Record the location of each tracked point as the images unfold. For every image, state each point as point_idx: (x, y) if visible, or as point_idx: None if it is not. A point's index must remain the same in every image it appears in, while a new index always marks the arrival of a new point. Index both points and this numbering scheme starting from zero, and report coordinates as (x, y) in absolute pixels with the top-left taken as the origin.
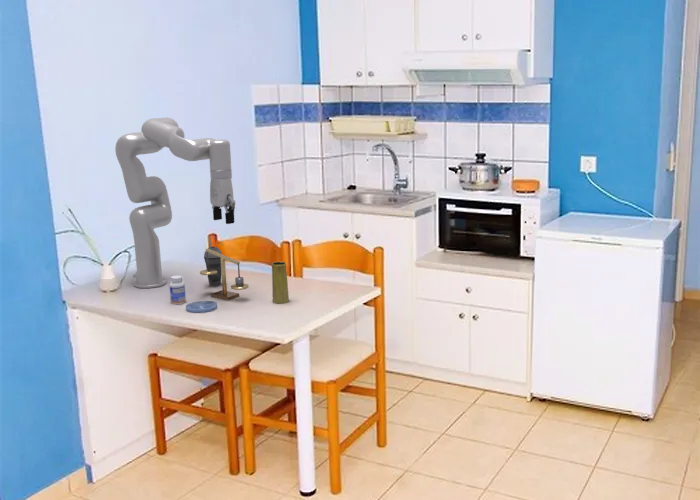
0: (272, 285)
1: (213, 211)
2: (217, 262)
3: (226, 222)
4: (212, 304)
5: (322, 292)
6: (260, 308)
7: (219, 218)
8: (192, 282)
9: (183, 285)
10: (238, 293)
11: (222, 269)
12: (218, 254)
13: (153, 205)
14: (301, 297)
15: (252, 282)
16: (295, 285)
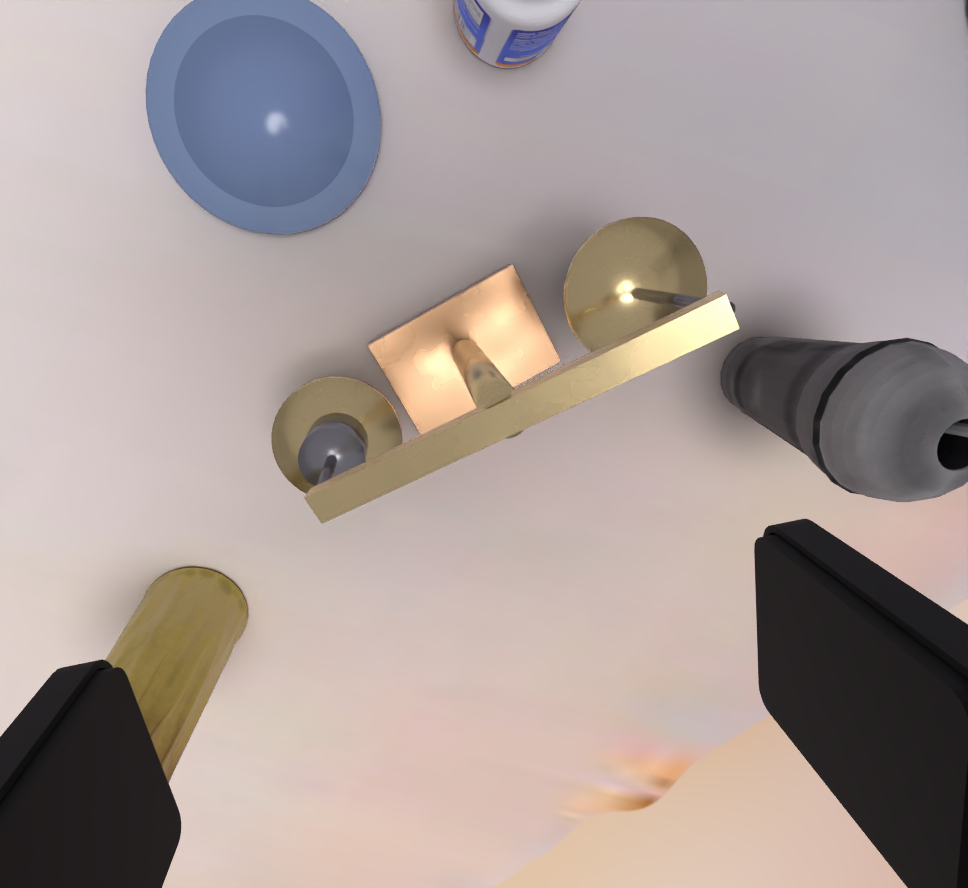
0: (178, 628)
1: (951, 648)
2: (799, 426)
3: (43, 686)
4: (232, 189)
5: (266, 836)
6: (95, 466)
7: (769, 660)
8: (912, 263)
9: (480, 2)
10: (424, 432)
11: (474, 376)
12: (538, 384)
13: None
14: (222, 725)
15: (674, 584)
16: (475, 760)
